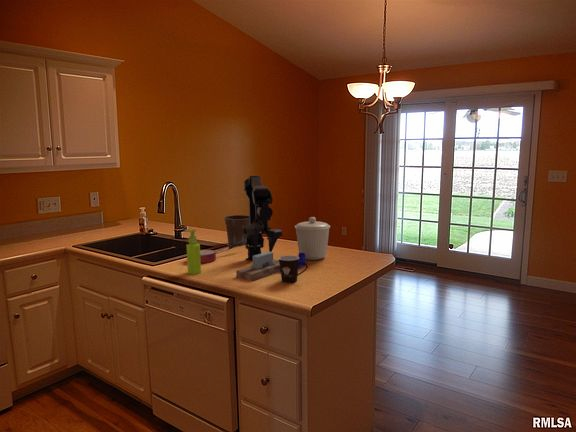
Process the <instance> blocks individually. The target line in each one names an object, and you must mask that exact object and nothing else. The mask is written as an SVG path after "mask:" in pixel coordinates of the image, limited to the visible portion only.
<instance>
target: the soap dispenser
mask: <svg viewBox="0 0 576 432" xmlns="http://www.w3.org/2000/svg"><path fill="white" fill-rule="evenodd" d="M182 232H183V233H188V232H190V236H189V237H188V243H187V244H186V246H185V247H186V262H187V274H188V275H199V274H201V273H202V265H201V260H200V250H201V244H200V243H198V241H197V236H196V235H195V232H197V230H196V229H191V228H190V229H186V230H185V229H184V230H183V231H182Z"/></svg>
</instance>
